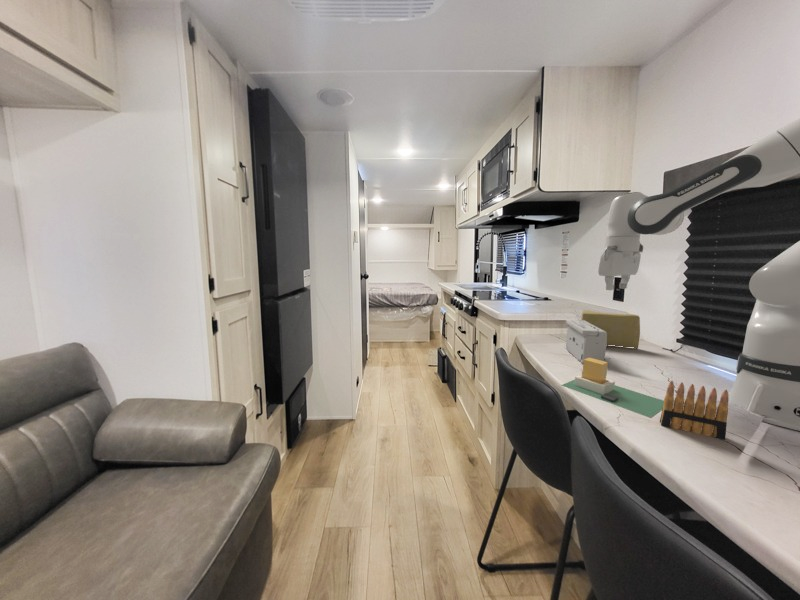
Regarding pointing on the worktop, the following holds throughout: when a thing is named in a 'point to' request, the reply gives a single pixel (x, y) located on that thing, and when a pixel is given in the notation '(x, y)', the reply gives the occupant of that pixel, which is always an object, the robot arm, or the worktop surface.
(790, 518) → the worktop surface
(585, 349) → the stereo radio cassette player
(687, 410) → the ammunition clip
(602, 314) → the olive rectangular block
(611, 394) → the board
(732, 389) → the robot arm
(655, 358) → the worktop surface
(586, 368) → the yellow rectangular block
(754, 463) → the worktop surface
